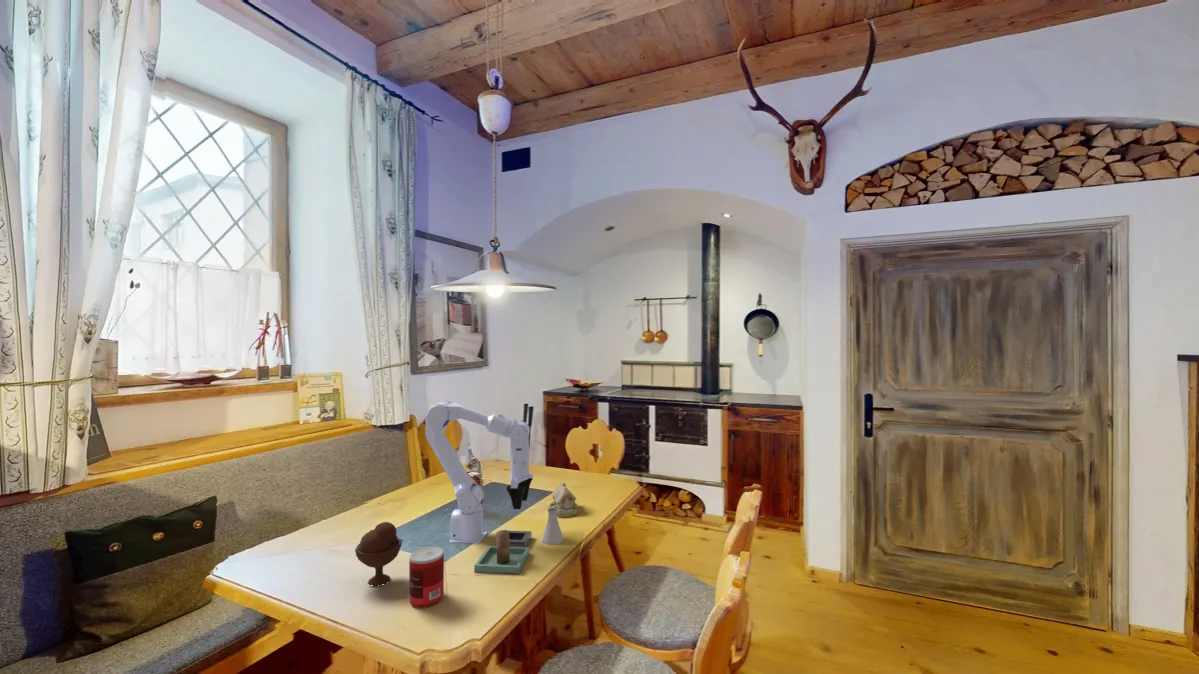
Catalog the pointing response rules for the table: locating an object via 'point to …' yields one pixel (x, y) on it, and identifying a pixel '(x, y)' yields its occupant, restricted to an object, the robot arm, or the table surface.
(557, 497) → the ceramic model
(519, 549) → the tray
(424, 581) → the canned food
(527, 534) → the square metal dish
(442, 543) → the table surface
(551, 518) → the flask
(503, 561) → the pin
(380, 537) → the ice cream bowl
